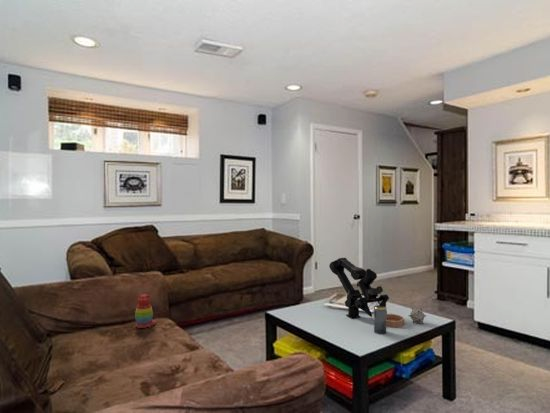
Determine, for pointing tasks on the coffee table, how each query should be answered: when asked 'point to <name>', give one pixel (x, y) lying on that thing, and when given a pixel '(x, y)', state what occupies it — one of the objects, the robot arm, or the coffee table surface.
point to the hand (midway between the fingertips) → (379, 315)
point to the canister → (380, 319)
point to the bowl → (394, 320)
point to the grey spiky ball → (417, 315)
